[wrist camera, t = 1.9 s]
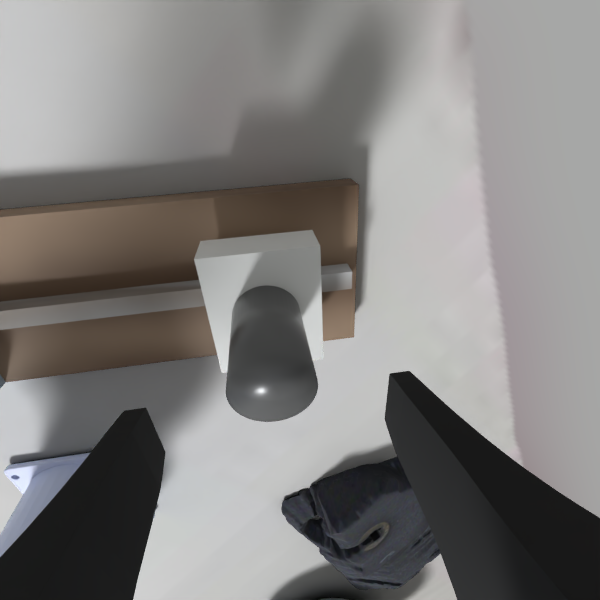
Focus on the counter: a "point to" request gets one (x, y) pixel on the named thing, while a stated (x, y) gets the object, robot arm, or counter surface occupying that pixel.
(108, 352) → the rail board
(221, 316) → the carriage
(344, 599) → the serving bowl
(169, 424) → the counter surface
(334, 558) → the dark grey folded cloth
